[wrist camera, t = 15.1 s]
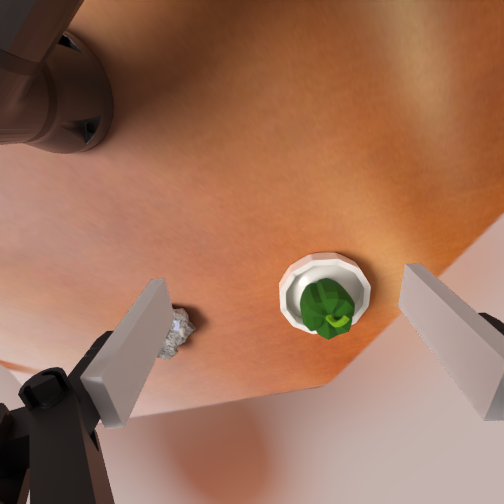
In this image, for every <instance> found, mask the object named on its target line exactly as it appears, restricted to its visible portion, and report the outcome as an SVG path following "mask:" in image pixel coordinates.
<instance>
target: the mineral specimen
mask: <svg viewBox="0 0 504 504" xmlns="http://www.w3.org/2000/svg"><path fill="white" fill-rule="evenodd" d="M173 312H174V316H175V319H174V321H173V323H172V325H171V327H170V329H169V332H168V334H167V336H166V338H165V340H164V342H163V345H162V347H161V349H160V351H159V353H158V355H157V357H158V358H163V359H170V358H171V357H173V356H175V354H177V353H178V350H177V348H178V346H179V345H180V344H181V343H183V342H185V340H186V339H187V337H188V335H190V334H191V333H192V332H194V330H195V329H196V328H195V326H194V325H193V324H192V323H191V322H189V319H188V318H189V317H188V314H187V313H186V311H185V309H183V308H181V309H173Z"/></svg>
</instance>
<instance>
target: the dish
mask: <svg viewBox="0 0 504 504" xmlns="http://www.w3.org/2000/svg"><path fill="white" fill-rule="evenodd" d="M324 278H329V279H332V280H335V281H336V282H338V283H339V284H340V285H341V286H342V287H343V288H344V289H345V290H346V291H347V292H348V294H349V295H350V296H351V298H352V299H353V301H354V303H355V312H354V316H353V317H352V324H351V325H353V324H355V323H356V322H357V320H358V319H359V318H360V317H361V315H362V314H363V313H364V312H365V310H366V309H367V308H368V307H369V299H370V290H371V286H370V284H369V283H368V281H367V279H366V278H365V276H364V274H363V273H362V271H361V269H360V268H359V266H358V265H357V263H356V262H355V261H352V260H350V259H349V258H347V257H345V256H343V255H340V254H337V253H335V252H333V253H331V252H320V253H314V254H309V255H307V256H304V257H303V258H301V259H299V260H297V261H296V262H294V263H293V264H292V265H290V266H289V268H288V269H287V270H286V272H285V273H284V275H283V277H282V279H281V281H280V283H279V295H280V308H281V312H282V313H283V314H284V316H285V317H286V318H287V319H288V321H289V322H290V323H291V324H292V326H294V327H296V328H299V329H301V330H304V331H306V332H309V333H311V334H318V333H317V332H316V331H310V330H309V329H308V328H307V327H306V326H305V325H304V324H303V320H302V315H301V309H300V299H301V295H302V293H303V291H304V289H305V287H306V286H307V285H308V284H310V283H317V281H318V280H319V279H324Z"/></svg>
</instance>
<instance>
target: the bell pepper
mask: <svg viewBox="0 0 504 504" xmlns="http://www.w3.org/2000/svg"><path fill="white" fill-rule="evenodd" d="M300 309H301V315H302V320H303V324H304V325H305V326H306V327H307V328H308V329H309V330H310V331H316V332H317V333H318V334H319V335H321V336H322V337H324V338H326V339H328V340H329V339H331V338H333V337H335V336H337V335H339V334H343V333H346V332H349V330H350V327H351V324H352V317H353V316H354V312H355V303H354V301H353V299H352V298H351V296H350V295H349V294H348V292H347V291H346V290H345V289H344V288H343V287H342V286H341V285H340V284H339V283H338V282H336V281H335V280H332V279H329V278H324V279H319V280H318V281H317V283H310V284H308V285H307V286H306V287H305V289H304V291H303V293H302V295H301V299H300Z"/></svg>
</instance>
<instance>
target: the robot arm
mask: <svg viewBox="0 0 504 504" xmlns="http://www.w3.org/2000/svg"><path fill="white" fill-rule="evenodd" d="M83 2H84V0H0V145H4V144H17V143H24V144H27V145H30V146H33V147H36V148H39V149H42V150H45V151H49V152H53V153H61V154H69V153H77V152H82V151H86V150H89V149H91V148H93V147H94V146H96V145H97V144H98V143H99V142H100V141H101V140H102V139H103V138H104V137H105V135H106V133H107V132H108V130H109V127H110V124H111V121H112V115H113V99H112V92H111V88H110V84H109V81H108V79H107V76H106V74H105V72H104V70H103V68H102V66H101V64H100V63H99V61H98V59H97V58H96V57H95V55H94V54H93V53H92V51H91V50H90V49H89V48H88V47H87V46H86V45H85V44H84V43H83V42H82V41H81V40H79V39H78V38H77V37H76V36H74V35H73V34H71V33H70V32H68V31H66V29H67V27H68V26H69V24H70V22H71V21H72V19H73V18H74V16H75V14H76V13H77V11H78V10H79V8H80V6H81V5H82V3H83ZM398 307H399V308H400V310H401V311H402V312H403V314H404V315H405V316H406V318H407V319H408V320H409V322H410V323H411V324H412V326H413V327H414V328H415V330H416V331H417V332H418V334H419V335H420V336H421V338H422V339H423V340H424V342H425V343H426V344H427V346H428V347H429V348H430V349H431V351H432V352H433V354H434V355H435V356H436V358H437V359H438V360H439V362H440V363H441V364H442V366H443V367H444V368H445V370H446V371H447V372H448V374H449V375H450V376H451V378H452V379H453V380H454V382H455V383H456V384H457V386H458V387H459V388H460V390H461V391H462V392H463V394H464V395H465V396H466V398H467V399H468V400H469V402H470V403H471V404H472V406H473V407H474V408H475V410H476V411H477V412H478V414H479V415H480V416H481V418H482V419H483V420H484V421H489V420H490V421H491V420H493V421H494V420H504V323H502V322H501V321H500V320H498V319H496V318H494V317H492V316H490V315H488V314H487V313H477V312H476V311H475V310H474V309H472V308H471V307H470V306H469V305H468V304H467V303H466V302H464V301H463V300H462V299H461V298H460V297H459V296H458V295H456V294H455V293H454V292H453V291H452V290H451V289H449V288H448V287H447V286H446V285H445V284H444V283H443V282H441V281H440V280H439V279H438V278H437V277H436V276H435V275H433V274H432V273H431V272H430V271H429V270H428V269H427V268H425V267H424V266H423V265H422V264H421V263H412V264H405V268H404V274H403V280H402V286H401V292H400V298H399V304H398ZM174 319H175V316H174V312H173V308H172V304H171V300H170V296H169V292H168V289H167V285H166V281H165V278H162V279H151V281H150V282H149V284H148V285H147V286H146V288H145V289H144V290H143V292H142V293H141V295H140V296H139V297H138V299H137V300H136V301H135V303H134V304H133V305H132V307H131V308H130V310H129V311H128V312H127V314H126V315H125V316H124V318H123V319H122V321H121V322H120V323H119V325H118V326H117V327H116V329H115V330H114V331H107V332H105V333H104V334H103V335H101V336H100V337H99V338H98V339H97V340H96V341H95V342H94V343H93V345H92V346H91V347H90V350H88V351H87V352H86V354H85V355H84V357H83V358H82V359H81V360H80V361H79V363H78V364H77V365H76V367H75V368H74V369H73V370H72V372H71V373H70V374H69V375H68V377H67V375H66V373H65V371H64V370H63V369H62V368H59V367H55V368H49V369H46V370H43V371H41V372H39V373H37V374H36V375H34V376H32V377H31V378H30V379H29V380H28V381H26V382H25V383H24V385H23V386H22V387H21V388H20V391H19V394H18V395H19V397H20V398H21V400H22V401H23V403H24V404H25V407H21V408H18V409H15V410H11V411H9V410H8V408H7V407H6V406H5V405H4V404H3V403H0V504H26V502H27V498H28V493H29V490H30V504H115V503H114V499H113V496H112V492H111V487H110V483H109V479H108V476H107V471H106V467H105V463H104V459H103V455H102V451H101V447H100V443H99V439H98V435H97V432H96V430H95V427H96V425H97V423H98V422H99V420H100V419H101V421H102V423H103V425H104V427H105V428H124V427H125V425H126V423H127V420H128V418H129V416H130V414H131V412H132V410H133V407H134V405H135V403H136V401H137V399H138V397H139V394H140V392H141V390H142V388H143V386H144V384H145V381H146V379H147V377H148V375H149V373H150V371H151V368H152V366H153V364H154V362H155V360H156V358H157V355H158V353H159V351H160V349H161V347H162V345H163V342H164V340H165V338H166V336H167V334H168V332H169V329H170V327H171V325H172V323H173V321H174Z"/></svg>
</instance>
